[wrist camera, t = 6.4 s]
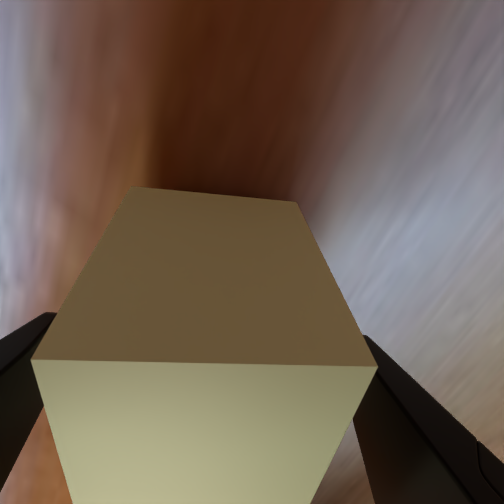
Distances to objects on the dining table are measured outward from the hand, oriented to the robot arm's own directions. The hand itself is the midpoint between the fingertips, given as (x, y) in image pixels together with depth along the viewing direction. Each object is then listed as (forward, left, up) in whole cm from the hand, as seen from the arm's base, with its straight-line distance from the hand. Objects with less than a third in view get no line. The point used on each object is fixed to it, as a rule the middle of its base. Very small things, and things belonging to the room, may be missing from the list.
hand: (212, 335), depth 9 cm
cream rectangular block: (0, 0, -3) cm, 3 cm away
